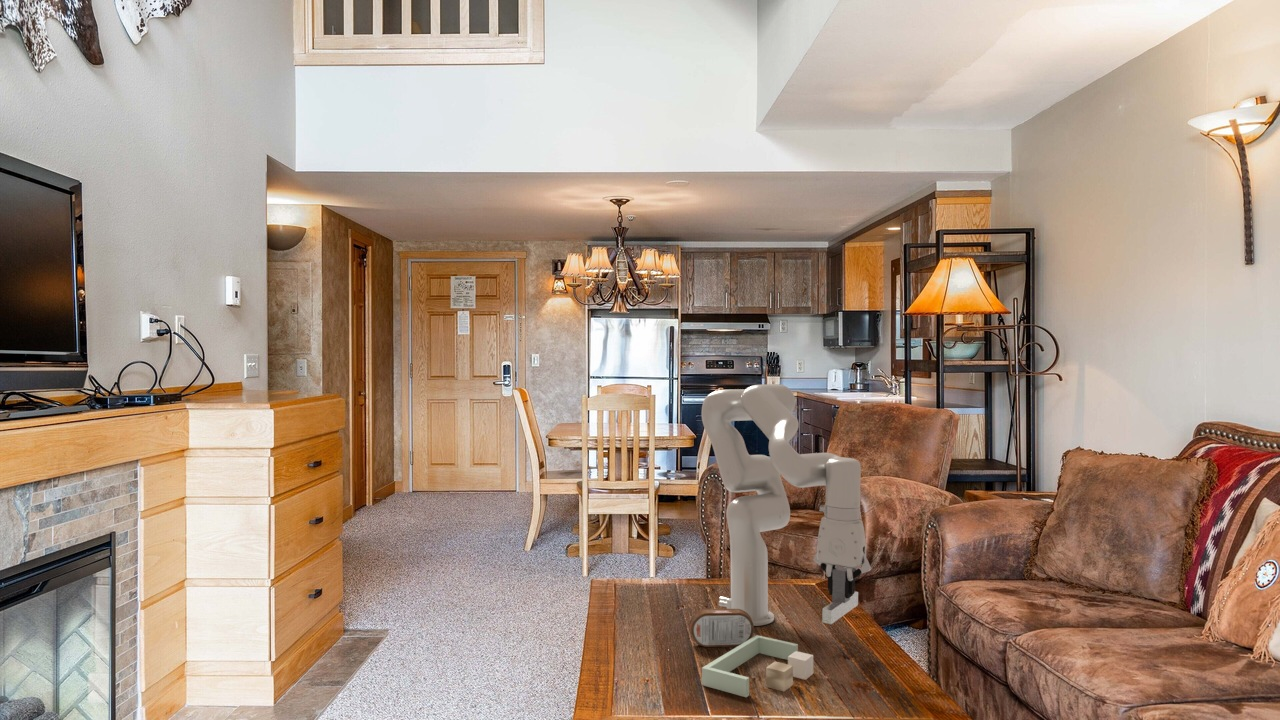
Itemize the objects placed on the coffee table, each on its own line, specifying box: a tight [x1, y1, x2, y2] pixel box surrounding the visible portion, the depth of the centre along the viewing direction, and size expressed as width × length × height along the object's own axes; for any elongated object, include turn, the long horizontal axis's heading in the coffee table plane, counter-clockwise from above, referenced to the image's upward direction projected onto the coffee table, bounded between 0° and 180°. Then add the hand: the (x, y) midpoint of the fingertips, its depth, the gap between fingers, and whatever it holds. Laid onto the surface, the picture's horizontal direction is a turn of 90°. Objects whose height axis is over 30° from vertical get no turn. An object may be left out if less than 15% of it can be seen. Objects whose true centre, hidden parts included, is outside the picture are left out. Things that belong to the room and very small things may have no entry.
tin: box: [688, 608, 755, 648], centre depth 180 cm, size 15×3×8 cm, turn 94°
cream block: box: [787, 650, 814, 681], centre depth 163 cm, size 4×4×4 cm
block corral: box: [701, 634, 799, 698], centre depth 164 cm, size 10×24×4 cm, turn 144°
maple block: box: [765, 661, 794, 692], centre depth 157 cm, size 4×4×4 cm
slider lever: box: [821, 566, 859, 625], centre depth 173 cm, size 3×16×10 cm, turn 144°
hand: (841, 594), depth 173 cm, fingers closed on slider lever, 3 cm apart
